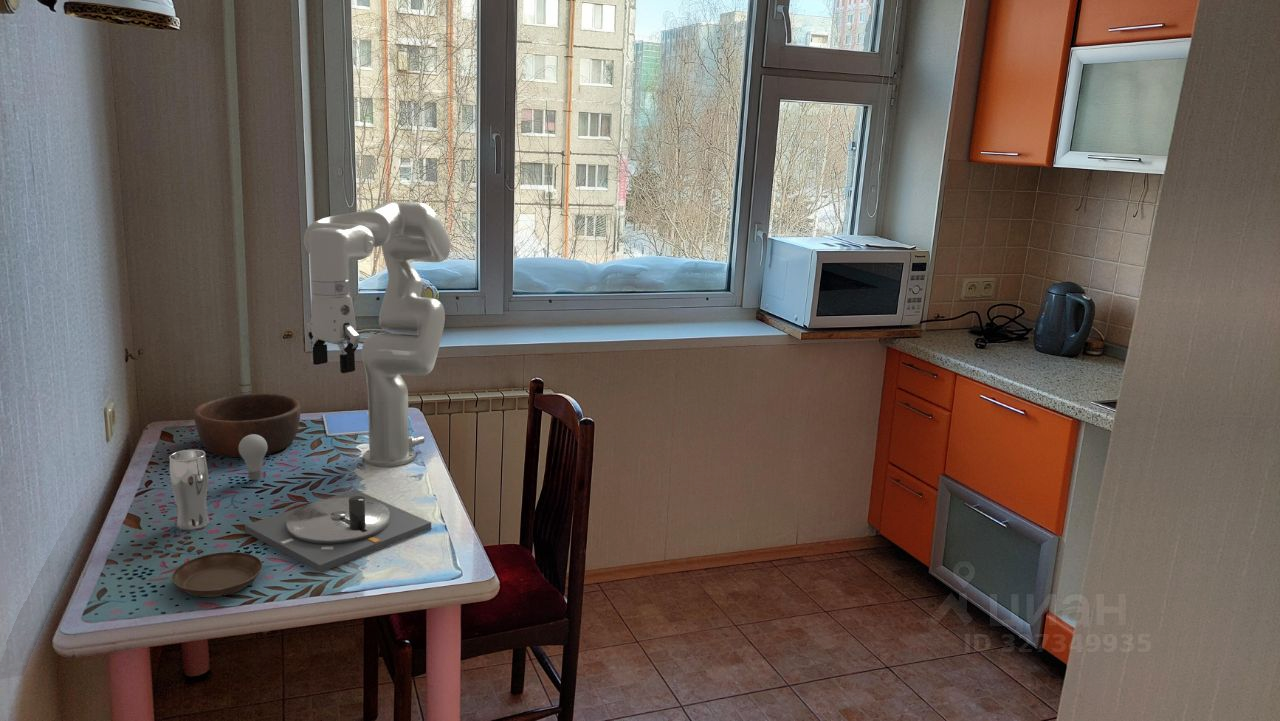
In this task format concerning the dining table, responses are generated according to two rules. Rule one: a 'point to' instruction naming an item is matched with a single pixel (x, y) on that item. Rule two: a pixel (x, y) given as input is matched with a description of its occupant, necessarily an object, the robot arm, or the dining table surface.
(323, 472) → the dining table surface
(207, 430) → the wooden bowl
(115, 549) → the dining table surface
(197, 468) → the beer glass
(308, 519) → the dial
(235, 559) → the saucer
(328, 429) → the tablet computer
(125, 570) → the dining table surface
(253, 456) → the lightbulb
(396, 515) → the dial plate
